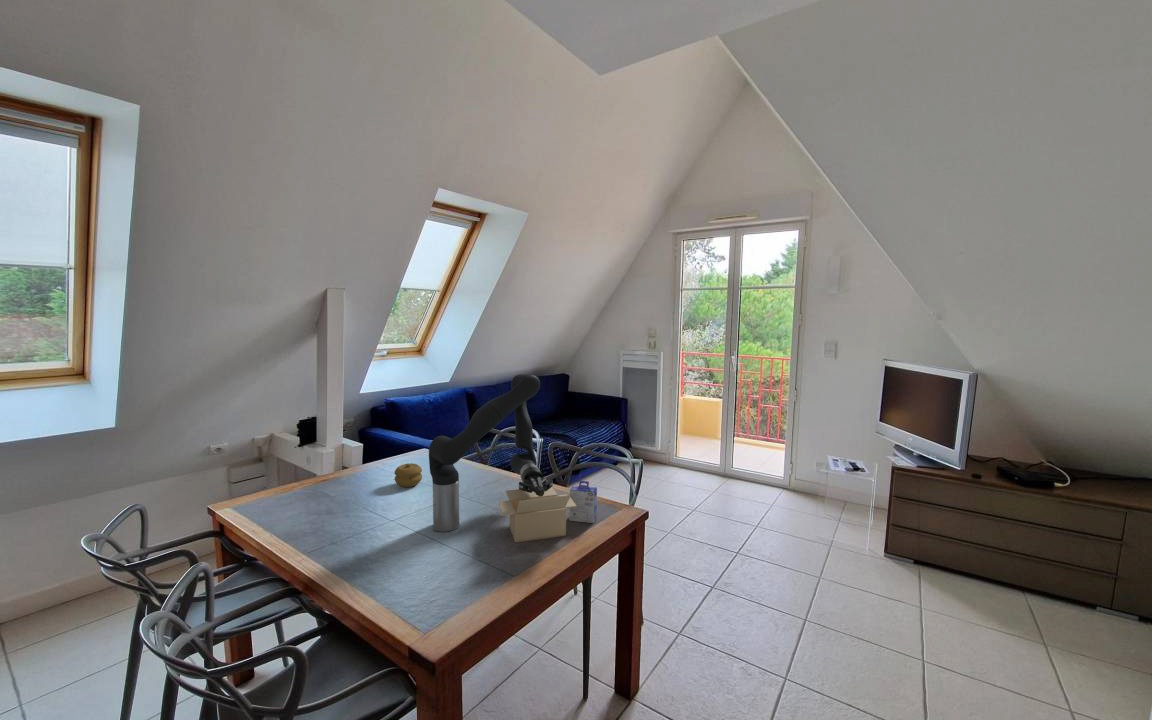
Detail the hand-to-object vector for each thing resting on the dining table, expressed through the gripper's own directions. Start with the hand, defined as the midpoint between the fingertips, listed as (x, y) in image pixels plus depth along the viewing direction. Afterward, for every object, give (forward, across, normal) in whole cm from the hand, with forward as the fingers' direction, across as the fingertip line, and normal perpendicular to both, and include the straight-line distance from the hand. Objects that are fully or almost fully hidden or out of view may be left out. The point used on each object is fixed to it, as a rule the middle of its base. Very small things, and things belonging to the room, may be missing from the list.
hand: (541, 493), depth 161 cm
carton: (-11, 0, +17) cm, 20 cm away
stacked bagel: (-65, -46, +17) cm, 82 cm away
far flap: (+2, 0, +3) cm, 3 cm away
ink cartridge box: (-12, +19, +17) cm, 28 cm away
